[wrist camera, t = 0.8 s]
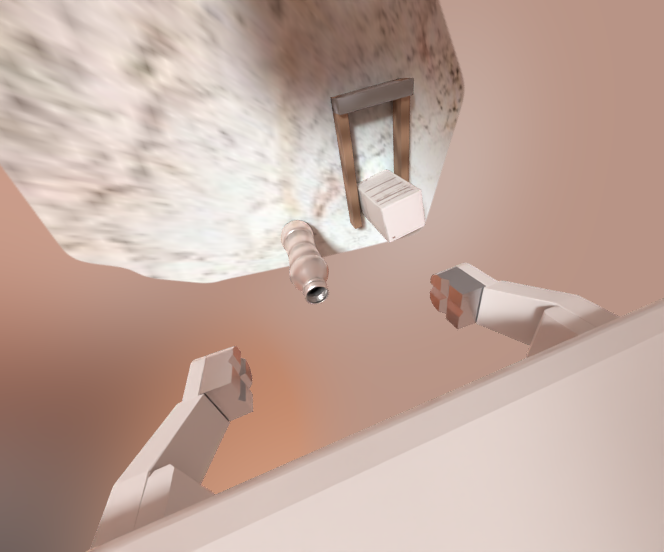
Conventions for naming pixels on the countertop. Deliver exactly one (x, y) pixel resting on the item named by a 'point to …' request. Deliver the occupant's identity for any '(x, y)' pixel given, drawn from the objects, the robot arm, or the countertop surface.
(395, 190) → the supplement box
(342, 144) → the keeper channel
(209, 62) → the countertop surface
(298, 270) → the plastic bottle
